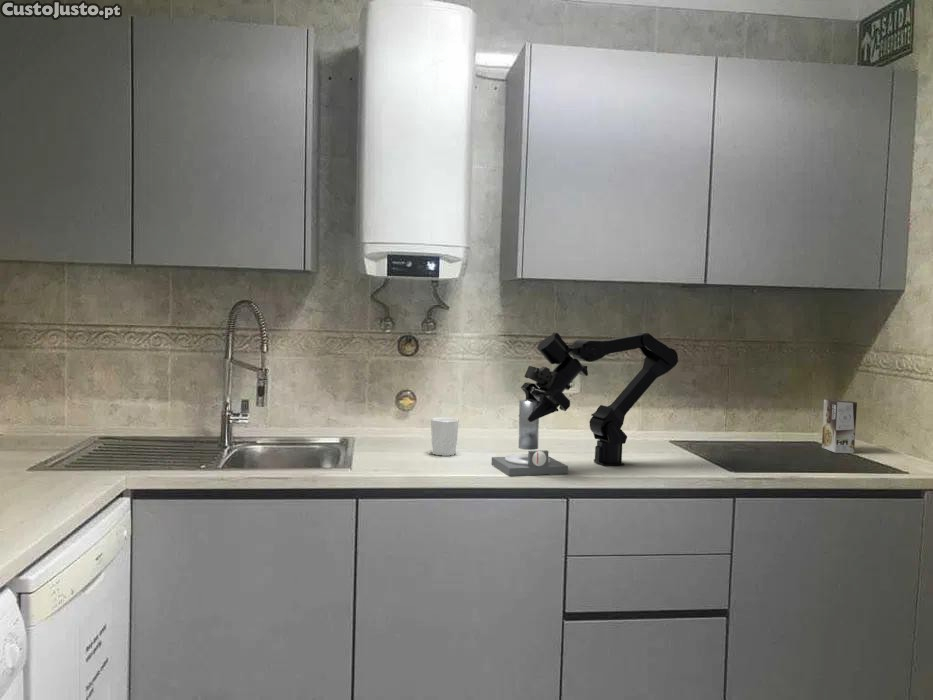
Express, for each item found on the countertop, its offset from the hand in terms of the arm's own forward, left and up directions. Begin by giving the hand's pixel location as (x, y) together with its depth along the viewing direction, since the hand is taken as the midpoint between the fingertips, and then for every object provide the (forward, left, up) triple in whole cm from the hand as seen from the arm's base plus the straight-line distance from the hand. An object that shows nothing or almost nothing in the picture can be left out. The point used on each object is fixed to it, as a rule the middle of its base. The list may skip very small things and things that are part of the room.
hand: (524, 419), depth 192 cm
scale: (-1, +1, -13) cm, 13 cm away
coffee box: (-110, -8, -13) cm, 111 cm away
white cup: (+16, -22, -13) cm, 30 cm away
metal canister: (-1, 0, -8) cm, 8 cm away
